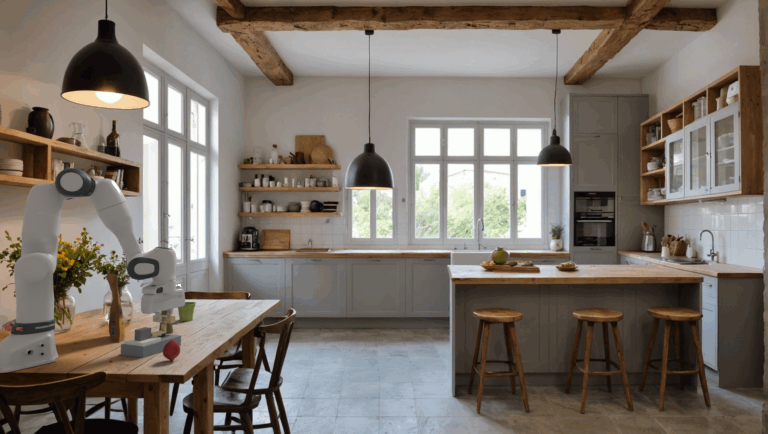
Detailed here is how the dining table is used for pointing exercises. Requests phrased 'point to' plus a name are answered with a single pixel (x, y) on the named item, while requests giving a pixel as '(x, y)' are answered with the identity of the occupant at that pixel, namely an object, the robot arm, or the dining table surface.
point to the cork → (167, 324)
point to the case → (149, 346)
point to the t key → (163, 324)
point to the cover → (142, 337)
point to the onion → (171, 350)
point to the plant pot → (186, 311)
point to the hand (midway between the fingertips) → (163, 321)
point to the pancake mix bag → (115, 312)
